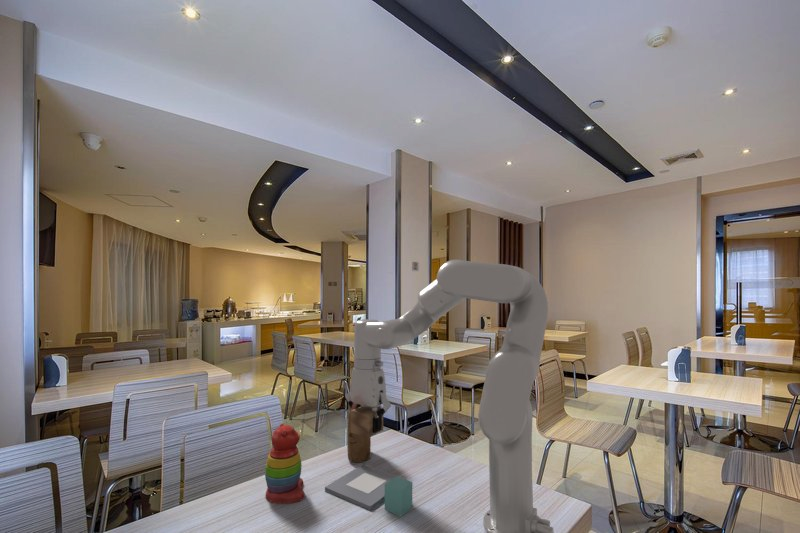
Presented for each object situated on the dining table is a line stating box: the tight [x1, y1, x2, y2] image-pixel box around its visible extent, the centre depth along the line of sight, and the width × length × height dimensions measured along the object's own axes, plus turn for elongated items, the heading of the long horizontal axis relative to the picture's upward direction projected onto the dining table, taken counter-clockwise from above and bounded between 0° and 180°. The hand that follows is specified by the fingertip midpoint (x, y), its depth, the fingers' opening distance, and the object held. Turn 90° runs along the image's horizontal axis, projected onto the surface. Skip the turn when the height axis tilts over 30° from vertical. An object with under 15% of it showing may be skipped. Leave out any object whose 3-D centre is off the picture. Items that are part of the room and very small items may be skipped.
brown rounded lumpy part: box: [346, 405, 372, 463], centre depth 122 cm, size 11×8×20 cm
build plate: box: [324, 463, 407, 511], centre depth 103 cm, size 16×16×1 cm
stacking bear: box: [264, 422, 306, 504], centre depth 101 cm, size 11×10×18 cm
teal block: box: [384, 475, 413, 517], centre depth 94 cm, size 5×5×6 cm
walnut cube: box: [351, 406, 384, 438], centre depth 104 cm, size 6×6×6 cm
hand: (366, 427), depth 104 cm, fingers closed on walnut cube, 6 cm apart
